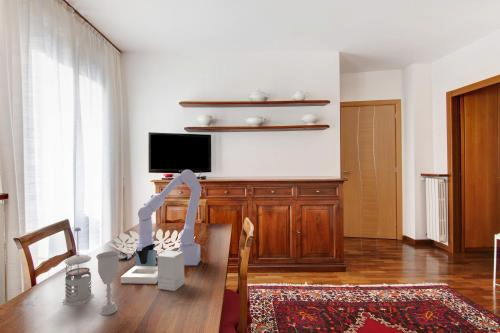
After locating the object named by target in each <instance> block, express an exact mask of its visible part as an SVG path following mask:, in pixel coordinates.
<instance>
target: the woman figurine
mask: <svg viewBox="0 0 500 333" xmlns="http://www.w3.org/2000/svg"><path fill="white" fill-rule="evenodd" d="M122 251H123V252H124V251H125V250H121V251H119V252H120V254H119V256H118V260H121V259H125V258H127V259H126V260H129V259H130V258H132V257H133V256H131V255H129V254H125V253H123V252H122Z"/></svg>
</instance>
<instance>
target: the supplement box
mask: <svg viewBox="0 0 500 333" xmlns="http://www.w3.org/2000/svg"><path fill="white" fill-rule="evenodd" d="M156 258H157V266H158V282H157V288H158V290H165V291H171V292H175V291H177V290H178V289H180V288H181V287H182V286H183V285H184V284H185V265H184V252H180V250H179V251H177V250H170V249H169V250H166V251H164V252H162V253H160V254H159V255H156Z"/></svg>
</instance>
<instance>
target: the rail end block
mask: <svg viewBox="0 0 500 333" xmlns="http://www.w3.org/2000/svg"><path fill="white" fill-rule="evenodd" d="M135 266H157V250H156V249H153V250H149V251H148V254H147V262H146V264H141V262H140V259H139V256H138V254H137V252H136V253H135Z"/></svg>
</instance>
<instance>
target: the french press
mask: <svg viewBox="0 0 500 333" xmlns="http://www.w3.org/2000/svg"><path fill="white" fill-rule="evenodd" d="M80 231H82V229H81V227H75V228H74V232H76V233H77V234H76V235H77V237H76V238H77V239H76V240H77V246H76V247H77V250H79V232H80ZM91 259H92V257H91V256H90V255H88V254H83V253H82V254H79V253H77V254H75V255H72V256H70V257H68V258H67V259H65V260H64V264H66V265H65V266H66V267H65V278H64V279H65V280H64V282H65V283H64V286H65V287H64V288H65V291H64V292H65V296H64V299H63V300H62V301H63V302H62V301H61V304H62V303H63V304H64V305H63V304H62V305H63V306H71V307H72V306H73V307H74V306H78V305H82V304H85V303H88V302H89V301H92V300H93V298H95V294H94V293H92V273H91V271H90V268H89V267H80V266H79V265H81V264H84V263H87V262H90V261H91ZM68 265H69V267H70V270H67V269H68ZM73 266H77V268H73V269H72V267H73ZM85 275H86V276H85Z"/></svg>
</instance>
